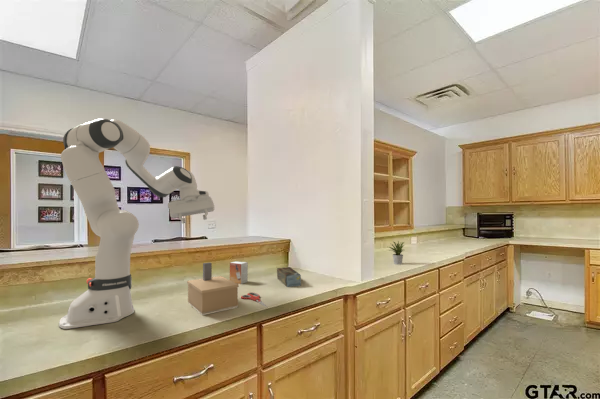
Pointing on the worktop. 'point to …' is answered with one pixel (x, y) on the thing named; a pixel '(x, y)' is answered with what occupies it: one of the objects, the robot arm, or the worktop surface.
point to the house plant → (397, 253)
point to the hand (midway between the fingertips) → (194, 220)
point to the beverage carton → (289, 277)
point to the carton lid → (211, 281)
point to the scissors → (253, 298)
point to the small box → (239, 272)
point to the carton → (213, 300)
